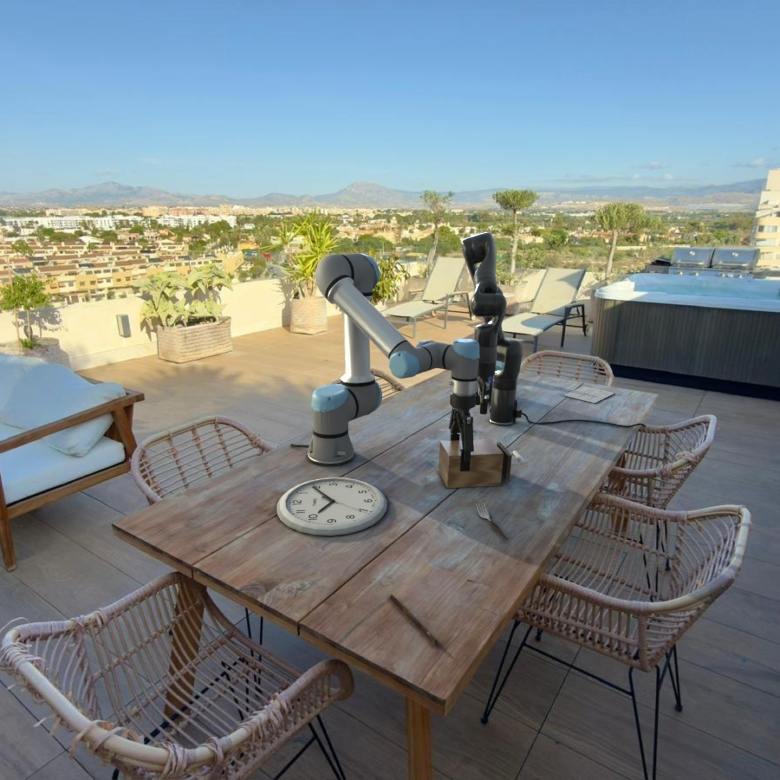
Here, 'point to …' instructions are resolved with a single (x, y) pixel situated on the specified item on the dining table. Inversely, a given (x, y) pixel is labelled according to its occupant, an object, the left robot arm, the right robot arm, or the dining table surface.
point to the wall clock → (331, 506)
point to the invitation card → (589, 394)
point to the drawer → (509, 461)
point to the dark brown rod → (413, 619)
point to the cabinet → (471, 464)
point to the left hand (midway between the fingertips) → (459, 462)
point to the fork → (487, 516)
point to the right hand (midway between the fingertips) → (479, 409)
